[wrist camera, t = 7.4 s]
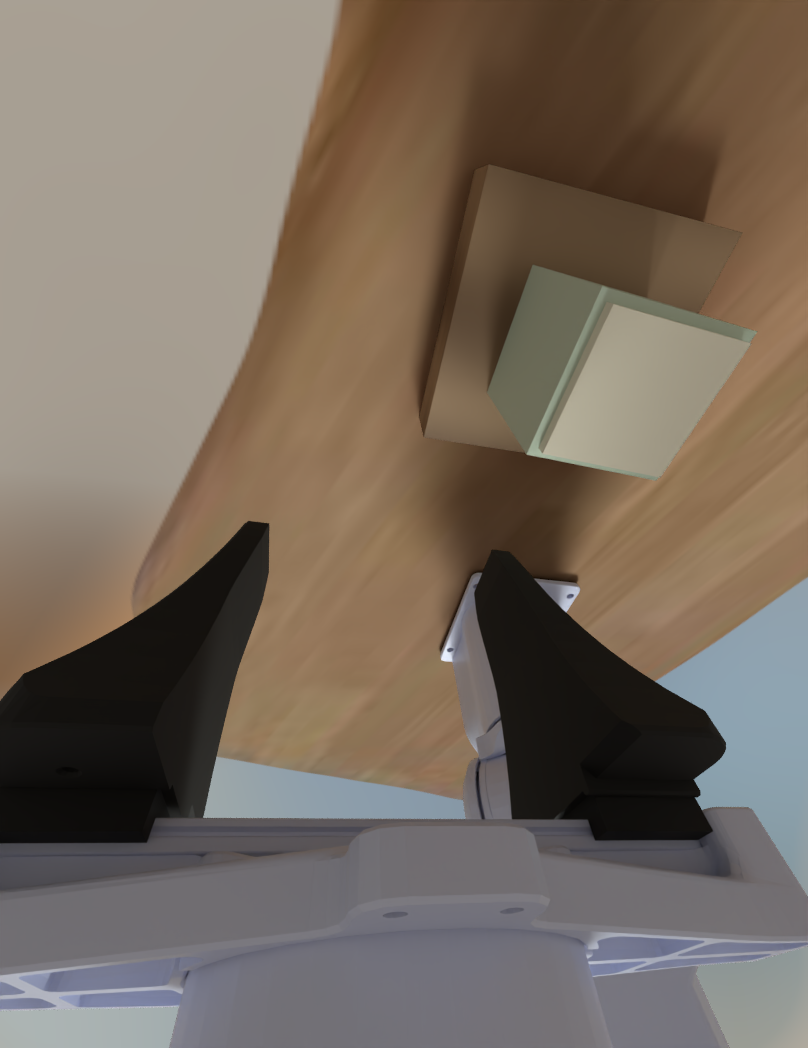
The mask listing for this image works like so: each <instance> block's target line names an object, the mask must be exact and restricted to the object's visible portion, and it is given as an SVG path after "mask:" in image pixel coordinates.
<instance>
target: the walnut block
mask: <svg viewBox="0 0 808 1048" xmlns="http://www.w3.org/2000/svg"><path fill="white" fill-rule="evenodd" d="M741 235H742V232H738V231H734V230H731V229H727V228H723V227H720V226H716V225H712V224H708V223H705V222H701V221H697V220H694V219H690V218H686V217H683V216H679V215H675V214H672V213H668V212H664V211H660V210H657V209H653V208H649V207H646V206H642V205H638V204H635V203H631V202H627V201H624V200H620V199H616V198H613V197H609V196H605V195H601V194H598V193H594V192H590V191H587V190H583V189H579V188H576V187H572V186H568V185H565V184H561V183H557V182H553V181H550V180H546V179H542V178H539V177H535V176H531V175H528V174H524V173H520V172H517V171H513V170H509V169H505V168H502V167H498V166H494V165H491V164H488V165H485V166H483V167H481V168H478V169H476V170H474V175H473V179H472V184H471V188H470V192H469V197H468V201H467V206H466V210H465V215H464V219H463V224H462V228H461V233H460V237H459V242H458V246H457V250H456V255H455V259H454V264H453V268H452V273H451V277H450V282H449V286H448V291H447V295H446V299H445V304H444V308H443V313H442V317H441V322H440V326H439V331H438V335H437V340H436V344H435V349H434V353H433V357H432V362H431V366H430V371H429V375H428V380H427V384H426V389H425V393H424V398H423V402H422V406H421V411H420V415H419V419H420V423H421V427H422V431H423V436H424V437H425V438H431V439H438V440H444V441H450V442H457V443H463V444H470V445H476V446H483V447H489V448H496V449H502V450H509V451H515V452H522V453H525V451H524V450H523V448H522V447H521V445H520V444H519V442H518V440H517V439H516V437H515V436H514V434H513V433H512V431H511V429H510V428H509V426H508V425H507V423H506V422H505V420H504V419H503V417H502V415H501V414H500V412H499V411H498V409H497V408H496V406H495V404H494V403H493V401H492V400H491V398H490V397H489V395H488V393H487V391H488V388H489V386H490V383H491V380H492V377H493V374H494V372H495V369H496V366H497V363H498V360H499V358H500V355H501V352H502V349H503V346H504V344H505V341H506V338H507V335H508V332H509V330H510V327H511V324H512V321H513V318H514V316H515V313H516V310H517V307H518V304H519V302H520V299H521V296H522V293H523V290H524V288H525V285H526V282H527V279H528V276H529V274H530V271H531V268H532V265H536V266H539V267H543V268H546V269H549V270H553V271H556V272H560V273H563V274H566V275H570V276H573V277H577V278H580V279H584V280H587V281H590V282H594V283H597V284H601V285H604V286H607V287H611V288H614V289H618V290H621V291H624V292H628V293H631V294H635V295H638V296H642V297H645V298H648V299H652V300H655V301H658V302H661V303H665V304H668V305H671V306H675V307H678V308H681V309H684V310H688V311H691V312H694V313H699V311H700V309H701V307H702V306H703V304H704V302H705V300H706V298H707V297H708V295H709V293H710V291H711V289H712V287H713V286H714V284H715V282H716V280H717V278H718V277H719V275H720V273H721V271H722V269H723V267H724V266H725V264H726V262H727V260H728V258H729V257H730V255H731V253H732V251H733V249H734V247H735V246H736V244H737V242H738V240H739V238H740V236H741Z"/></svg>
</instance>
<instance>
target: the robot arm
mask: <svg viewBox="0 0 808 1048" xmlns="http://www.w3.org/2000/svg"><path fill="white" fill-rule="evenodd" d="M268 573H269V523H260V522H252V521H248V522H247V523H245V524H244V525H243V526H242V527H241V529H240V530H239V531H238V532H237V533H236V534H235V535H234V536H233V537H232V538H231V540H230V541H229V542H228V543H227V544H226V545H225V546H224V547H223V548H222V549H221V550H220V551H219V552H218V553H217V554H216V555H215V556H214V557H213V558H211V559H210V560H209V561H208V562H207V563H206V564H205V565H204V566H203V567H202V568H201V569H199V570H198V571H197V572H196V573H195V574H194V575H192V576H191V577H190V578H189V579H188V580H187V581H186V582H184V583H183V584H182V585H181V586H179V587H178V588H177V589H175V590H174V591H173V592H172V593H170V594H169V595H168V596H166V597H165V598H163V599H162V600H161V601H159V602H158V603H156V604H155V605H154V606H152V607H150V608H149V609H147V610H146V611H144V612H143V613H141V614H140V615H138V616H137V617H135V618H134V619H132V620H130V621H129V622H127V623H126V624H124V625H122V626H120V627H119V628H117V629H115V630H113V631H112V632H110V633H108V634H106V635H104V636H103V637H101V638H99V639H97V640H95V641H93V642H91V643H89V644H87V645H85V646H83V647H81V648H80V649H77V650H75V651H73V652H71V653H69V654H67V655H65V656H62V657H60V658H58V659H56V660H54V661H51V662H49V663H47V664H45V665H43V666H40V667H38V668H36V669H34V670H31V671H29V672H27V673H24V674H23V675H22V676H21V678H20V679H19V680H18V681H17V682H16V683H15V684H14V685H13V687H12V688H11V689H10V690H9V691H8V692H7V693H6V694H5V696H4V697H3V698H2V699H1V701H0V1011H11V1010H55V1009H98V1008H99V1009H100V1008H144V1007H145V1008H146V1007H179V1009H178V1014H177V1018H176V1022H175V1026H174V1030H173V1034H172V1038H171V1042H170V1047H169V1048H729V1045H728V1043H727V1041H726V1039H725V1037H724V1034H723V1032H722V1030H721V1028H720V1026H719V1024H718V1021H717V1019H716V1017H715V1015H714V1013H713V1010H712V1008H711V1006H710V1004H709V1002H708V999H707V997H706V995H705V993H704V991H703V988H702V986H701V984H700V982H699V980H698V978H697V975H696V971H697V968H698V966H700V965H711V964H721V963H722V964H723V963H737V962H749V961H750V962H751V961H757V960H760V959H764V958H767V957H772V956H775V955H778V954H782V953H786V952H790V951H793V950H797V949H800V948H804V947H808V896H807V895H806V893H805V892H804V890H803V889H802V887H801V885H800V884H799V882H798V881H797V879H796V877H795V876H794V875H793V873H792V871H791V869H790V868H789V866H788V865H787V863H786V862H785V860H784V858H783V857H782V856H781V854H780V852H779V851H778V849H777V848H776V846H775V844H774V843H773V841H772V840H771V838H770V836H769V835H768V833H767V832H766V830H765V829H764V827H763V825H762V824H761V822H760V821H759V819H758V818H757V816H756V815H755V813H754V811H753V810H752V809H750V808H748V807H712V808H708V809H704V810H701V808H700V806H699V804H698V803H697V801H696V799H695V797H698V796H700V790H699V788H698V786H697V785H696V783H695V781H694V779H695V778H696V777H697V776H699V775H700V774H701V773H702V772H704V771H705V770H707V769H708V768H709V767H711V766H712V765H713V764H715V763H716V762H717V761H718V760H719V759H720V758H721V757H722V756H723V754H724V752H725V750H726V742H725V741H724V739H723V738H722V736H721V735H720V733H719V732H718V730H717V728H716V727H715V726H714V724H713V722H712V721H711V719H710V718H709V716H708V715H707V713H706V712H705V711H704V710H703V709H701V708H699V707H697V706H695V705H693V704H692V703H690V702H688V701H687V700H685V699H683V698H681V697H679V696H678V695H676V694H674V693H672V692H671V691H669V690H667V689H666V688H664V687H662V686H661V685H659V684H658V683H656V682H655V681H653V680H651V679H650V678H648V677H647V676H645V675H644V674H642V673H641V672H639V671H638V670H636V669H635V668H633V667H632V666H630V665H629V664H628V663H626V662H625V661H623V660H622V659H621V658H619V657H618V656H617V655H615V654H614V653H613V652H611V651H610V650H609V649H607V648H606V647H605V646H604V645H602V644H601V643H600V642H599V641H597V640H596V639H595V638H594V637H593V636H591V635H590V634H589V633H588V632H587V631H586V630H584V629H583V628H582V627H581V626H580V625H579V624H578V623H577V622H575V621H574V620H573V619H572V618H571V617H570V616H569V615H568V614H567V613H566V612H567V610H568V609H569V607H570V606H571V604H572V603H573V601H574V599H575V598H576V596H577V595H578V593H579V591H580V587H579V586H578V584H577V583H572V582H563V581H553V580H544V579H535V578H533V577H532V576H531V575H530V574H529V573H528V571H527V570H526V569H525V568H524V567H523V566H522V565H521V564H520V563H519V561H518V560H517V559H516V558H515V557H514V556H513V555H512V554H511V553H510V552H507V551H498V550H492V551H491V554H490V556H489V558H488V561H487V563H486V565H485V568H484V570H483V573H475V574H473V575H472V577H471V579H470V581H469V584H468V586H467V589H466V591H465V593H464V596H463V598H462V601H461V603H460V606H459V608H458V611H457V613H456V616H455V618H454V621H453V623H452V626H451V628H450V631H449V633H448V636H447V638H446V641H445V643H444V646H443V648H442V651H441V653H440V657H441V660H443V661H450V662H453V667H454V672H455V678H456V684H457V689H458V695H459V701H460V706H461V712H462V717H463V723H464V728H465V731H466V734H467V737H468V739H469V741H470V743H471V744H472V746H473V747H474V748H475V750H476V751H477V752H478V754H479V757H478V758H474V759H473V760H471V761H470V763H469V765H468V768H467V772H466V776H465V779H464V785H463V802H464V811H465V817H466V819H299V818H294V819H293V818H203V815H204V811H205V806H206V802H207V797H208V792H209V787H210V783H211V778H212V773H213V769H214V765H215V760H216V756H217V752H218V747H219V743H220V739H221V734H222V730H223V726H224V722H225V718H226V713H227V709H228V705H229V701H230V697H231V693H232V689H233V685H234V681H235V677H236V674H237V671H238V668H239V665H240V662H241V659H242V656H243V653H244V651H245V648H246V645H247V642H248V640H249V637H250V634H251V631H252V628H253V626H254V623H255V620H256V617H257V615H258V612H259V609H260V606H261V603H262V600H263V596H264V591H265V587H266V582H267V578H268ZM475 584H477V585H475ZM568 594H569V595H568Z"/></svg>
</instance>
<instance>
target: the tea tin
mask: <svg viewBox="0 0 808 1048" xmlns="http://www.w3.org/2000/svg"><path fill="white" fill-rule="evenodd" d="M756 333H757V331H754V330H750V329H747V328H744V327H740V326H737V325H734V324H731V323H727V322H724V321H721V320H717V319H714V318H711V317H708V316H704V315H701V314H698V313H694V312H691V311H688V310H684V309H681V308H678V307H675V306H671V305H668V304H665V303H661V302H658V301H655V300H652V299H648V298H645V297H642V296H638V295H635V294H631V293H628V292H624V291H621V290H618V289H614V288H611V287H607V286H604V285H601V284H597V283H594V282H590V281H587V280H584V279H580V278H577V277H573V276H570V275H566V274H563V273H560V272H556V271H553V270H549V269H546V268H543V267H539V266H536V265H532V268H531V271H530V274H529V276H528V279H527V282H526V285H525V288H524V290H523V293H522V296H521V299H520V302H519V304H518V307H517V310H516V313H515V316H514V318H513V321H512V324H511V327H510V330H509V332H508V335H507V338H506V341H505V344H504V346H503V349H502V352H501V355H500V358H499V360H498V363H497V366H496V369H495V372H494V374H493V377H492V380H491V383H490V386H489V388H488V391H487V393H488V395H489V397H490V398H491V400H492V401H493V403H494V404H495V406H496V408H497V409H498V411H499V412H500V414H501V415H502V417H503V419H504V420H505V422H506V423H507V425H508V426H509V428H510V429H511V431H512V433H513V434H514V436H515V437H516V439H517V440H518V442H519V444H520V445H521V447H522V448H523V450H524V451H525V453H526V454H527V455H531V456H536V457H541V458H546V459H551V460H556V461H561V462H566V463H571V464H576V465H581V466H586V467H591V468H596V469H601V470H606V471H611V472H616V473H621V474H626V475H631V476H636V477H641V478H646V479H651V480H657V479H658V478H659V477H661V476H662V474H663V473H664V471H665V470H666V469H667V467H668V466H669V464H670V463H671V461H672V460H673V458H674V457H675V455H676V454H677V452H678V451H679V449H680V448H681V446H682V445H683V444H684V442H685V441H686V439H687V438H688V436H689V435H690V433H691V432H692V430H693V429H694V427H695V426H696V424H697V423H698V422H699V420H700V419H701V417H702V416H703V414H704V413H705V411H706V410H707V408H708V407H709V405H710V404H711V402H712V401H713V400H714V398H715V397H716V395H717V394H718V392H719V391H720V389H721V388H722V386H723V385H724V383H725V382H726V380H727V379H728V377H729V376H730V375H731V373H732V372H733V370H734V369H735V367H736V366H737V364H738V363H739V361H740V360H741V358H742V357H743V355H744V354H745V353H746V351H747V350H748V348H749V347H750V345H751V343H750V342H751V340H752V339H753V337H754V336H755V335H756Z"/></svg>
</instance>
